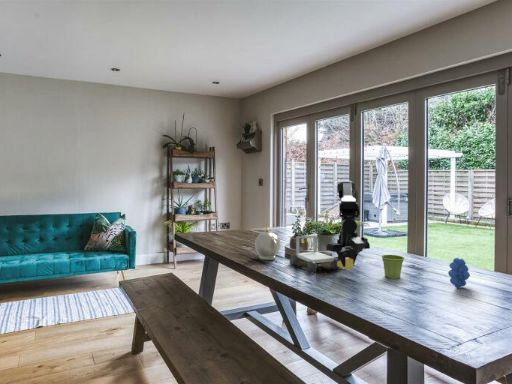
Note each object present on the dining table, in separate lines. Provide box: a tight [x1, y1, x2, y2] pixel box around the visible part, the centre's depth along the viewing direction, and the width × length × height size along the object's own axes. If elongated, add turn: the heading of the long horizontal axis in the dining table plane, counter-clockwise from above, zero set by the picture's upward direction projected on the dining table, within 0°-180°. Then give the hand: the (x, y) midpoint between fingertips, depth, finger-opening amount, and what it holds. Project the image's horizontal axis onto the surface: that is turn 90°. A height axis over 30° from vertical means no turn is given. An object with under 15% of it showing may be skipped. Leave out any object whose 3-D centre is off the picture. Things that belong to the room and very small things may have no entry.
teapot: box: [254, 227, 281, 261], centre depth 195 cm, size 18×14×16 cm
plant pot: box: [380, 254, 406, 280], centre depth 160 cm, size 9×9×9 cm
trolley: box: [289, 234, 341, 273], centre depth 178 cm, size 21×15×14 cm
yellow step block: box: [337, 257, 354, 270], centre depth 161 cm, size 4×6×4 cm, turn 23°
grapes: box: [447, 257, 471, 289], centre depth 142 cm, size 12×7×12 cm, turn 123°
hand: (348, 265), depth 159 cm, fingers closed on yellow step block, 4 cm apart
